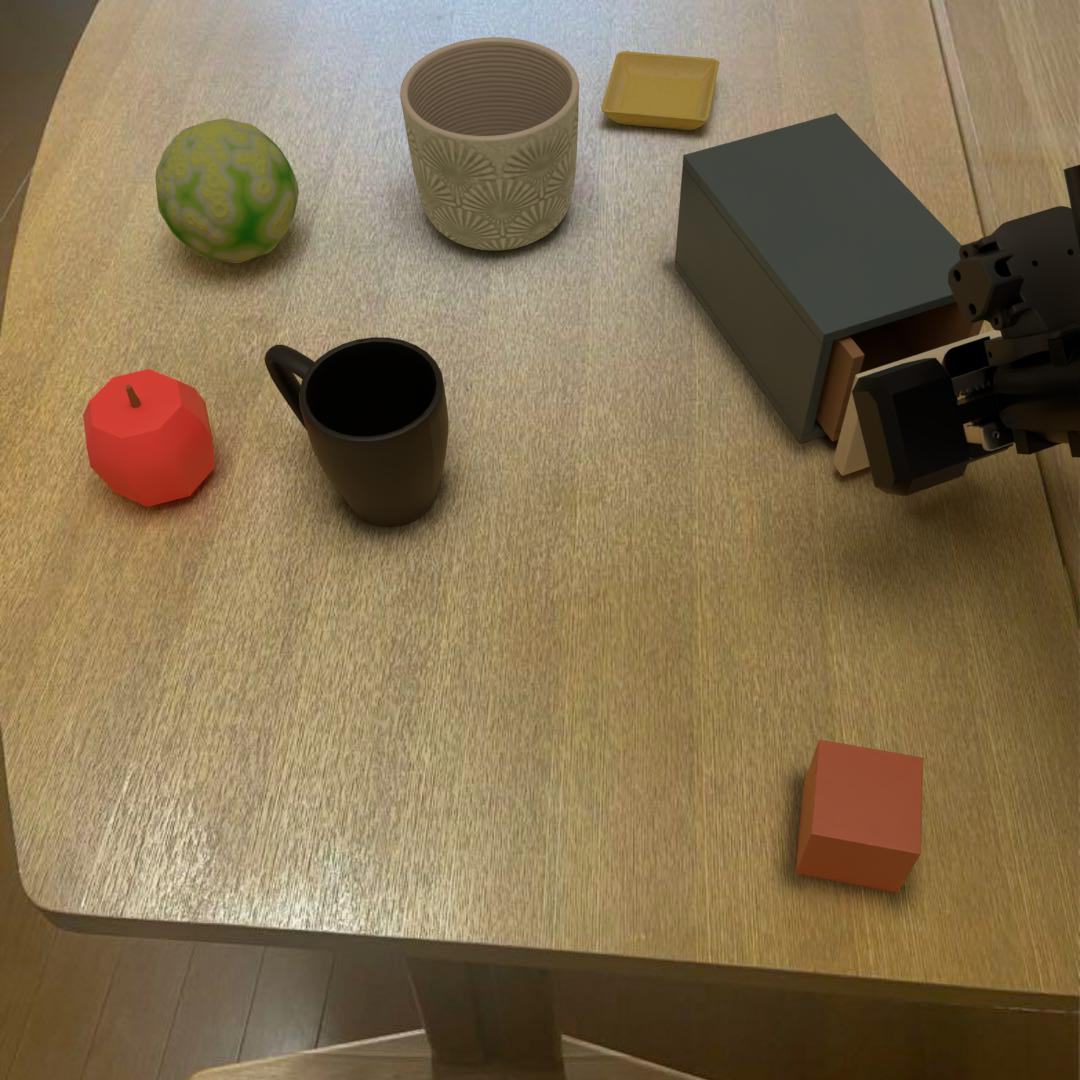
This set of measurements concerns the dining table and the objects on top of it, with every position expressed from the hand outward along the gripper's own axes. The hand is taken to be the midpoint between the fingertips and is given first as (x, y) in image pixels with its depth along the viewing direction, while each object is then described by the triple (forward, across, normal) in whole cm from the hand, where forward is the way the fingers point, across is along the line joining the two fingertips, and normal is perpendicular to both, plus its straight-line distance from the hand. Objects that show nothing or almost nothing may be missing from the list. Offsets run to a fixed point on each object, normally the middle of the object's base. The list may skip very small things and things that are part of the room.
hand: (939, 388), depth 69 cm
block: (-9, +16, +19) cm, 27 cm away
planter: (+29, +15, -19) cm, 38 cm away
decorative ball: (+32, +34, -22) cm, 51 cm away
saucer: (+34, -2, -24) cm, 42 cm away
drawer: (+9, 0, -1) cm, 9 cm away
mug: (+14, +32, -4) cm, 35 cm away
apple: (+18, +44, -8) cm, 48 cm away
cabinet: (+14, 0, -5) cm, 15 cm away
